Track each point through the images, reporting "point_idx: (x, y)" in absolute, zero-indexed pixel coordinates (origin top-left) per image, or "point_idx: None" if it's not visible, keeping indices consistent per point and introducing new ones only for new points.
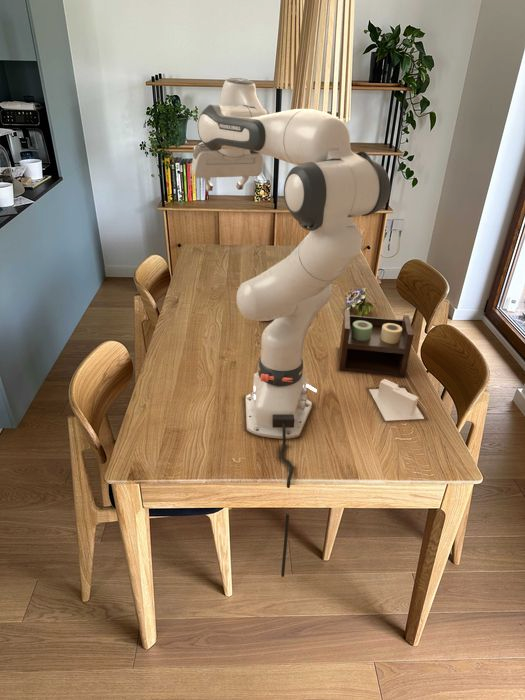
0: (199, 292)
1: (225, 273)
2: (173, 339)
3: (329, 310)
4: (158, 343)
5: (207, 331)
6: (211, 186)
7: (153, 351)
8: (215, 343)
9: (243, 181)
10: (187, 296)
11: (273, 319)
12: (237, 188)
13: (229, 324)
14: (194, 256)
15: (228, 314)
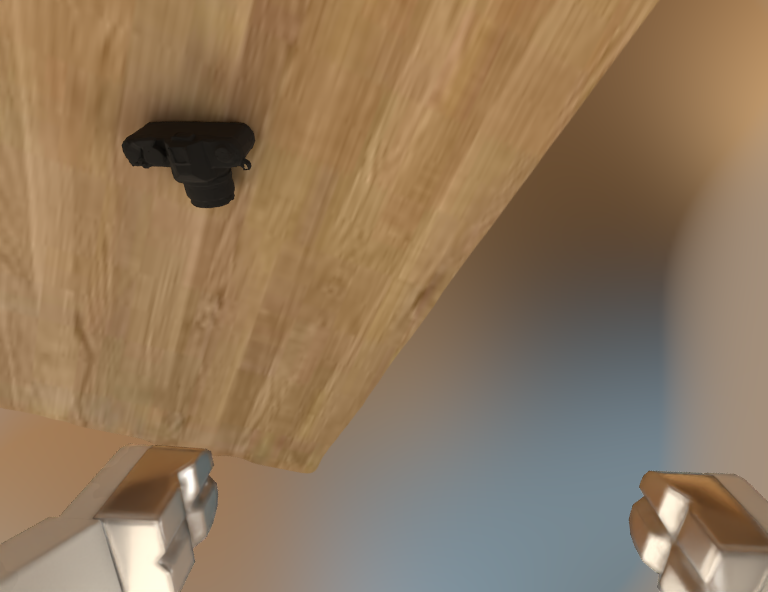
0: (357, 317)
1: (272, 371)
2: (516, 125)
3: (28, 112)
4: (560, 120)
5: (416, 132)
6: (739, 539)
7: (595, 81)
8: (425, 52)
9: (25, 586)
10: (389, 310)
11: (216, 122)
12: (210, 477)
13: (346, 146)
14: (313, 440)
15: (329, 199)
